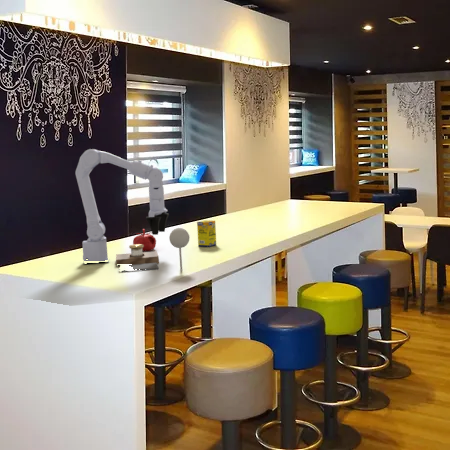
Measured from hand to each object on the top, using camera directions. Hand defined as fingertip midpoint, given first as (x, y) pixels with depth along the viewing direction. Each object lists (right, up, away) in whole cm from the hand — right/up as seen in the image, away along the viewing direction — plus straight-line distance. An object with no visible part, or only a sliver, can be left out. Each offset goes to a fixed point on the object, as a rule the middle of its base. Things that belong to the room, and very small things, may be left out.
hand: (158, 233), depth 243 cm
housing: (-8, -11, -4) cm, 14 cm away
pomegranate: (-8, -8, +22) cm, 25 cm away
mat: (-6, -13, -17) cm, 22 cm away
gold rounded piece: (-8, -11, -4) cm, 14 cm away
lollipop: (+11, -13, -24) cm, 29 cm away
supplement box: (+19, -6, +25) cm, 32 cm away
